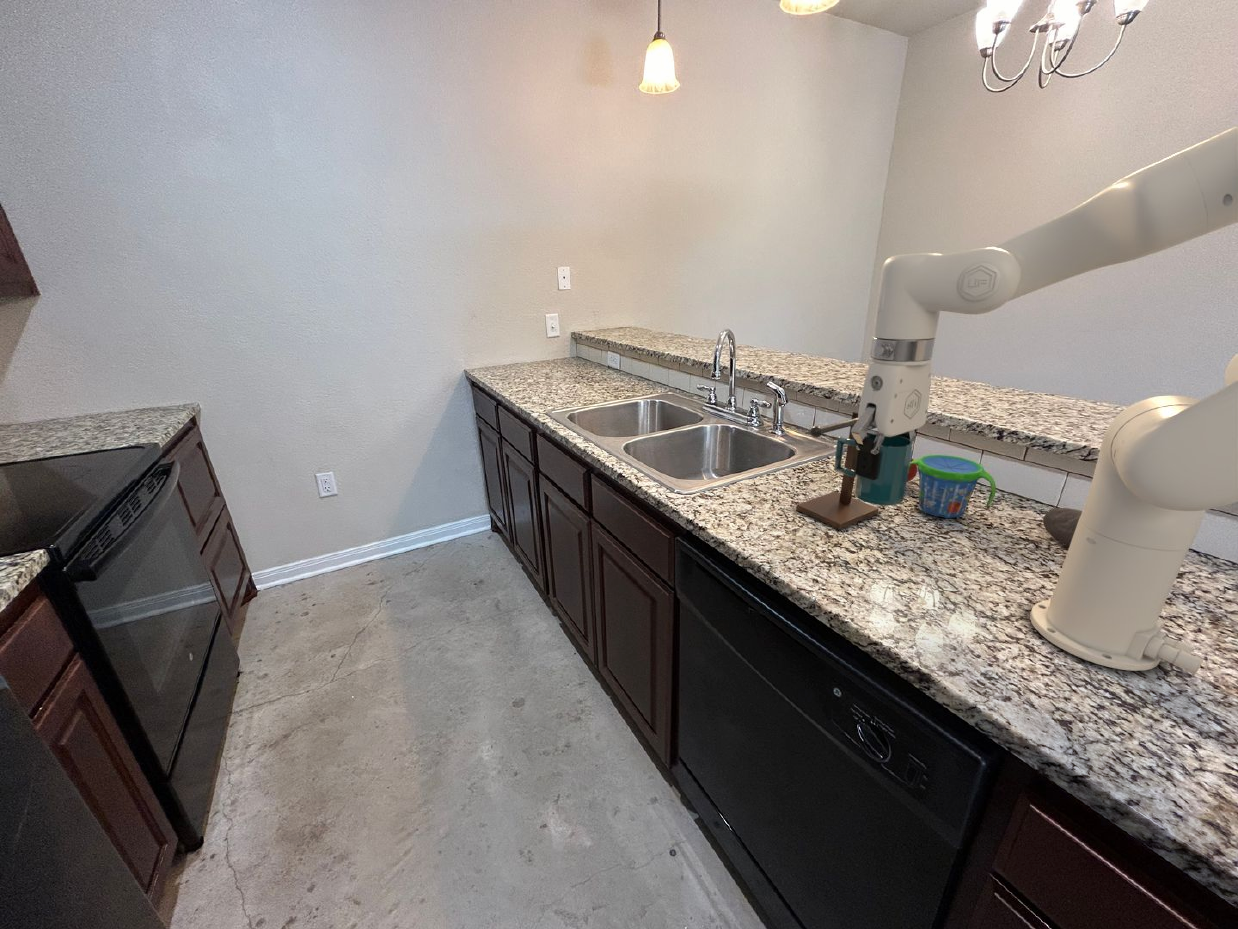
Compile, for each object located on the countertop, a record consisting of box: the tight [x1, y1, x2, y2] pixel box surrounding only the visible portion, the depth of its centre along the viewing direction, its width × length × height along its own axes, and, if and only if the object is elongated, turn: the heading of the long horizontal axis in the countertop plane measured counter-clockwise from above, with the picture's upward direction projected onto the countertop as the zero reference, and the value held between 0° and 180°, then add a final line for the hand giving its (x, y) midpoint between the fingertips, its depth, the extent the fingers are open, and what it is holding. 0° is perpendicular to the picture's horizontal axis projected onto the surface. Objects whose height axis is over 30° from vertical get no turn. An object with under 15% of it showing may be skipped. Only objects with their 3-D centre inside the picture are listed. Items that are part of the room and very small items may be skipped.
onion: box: [907, 457, 918, 483], centre depth 110 cm, size 6×6×8 cm
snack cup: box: [910, 454, 997, 519], centre depth 97 cm, size 16×10×10 cm
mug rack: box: [796, 410, 880, 530], centre depth 95 cm, size 10×18×20 cm, turn 121°
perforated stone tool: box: [1042, 507, 1083, 548], centre depth 83 cm, size 15×5×7 cm, turn 7°
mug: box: [833, 435, 915, 506], centre depth 76 cm, size 11×7×9 cm, turn 31°
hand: (881, 470), depth 75 cm, fingers closed on mug, 6 cm apart
